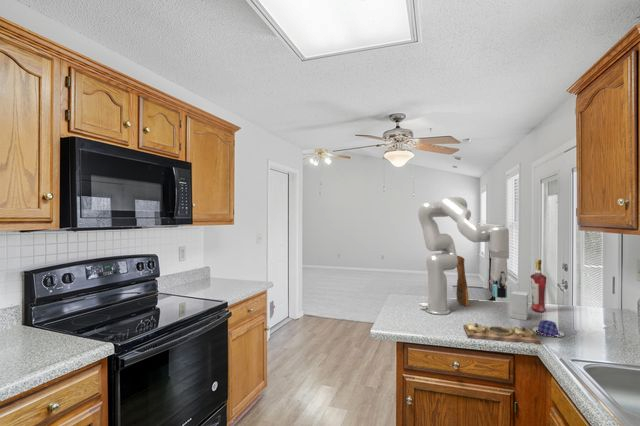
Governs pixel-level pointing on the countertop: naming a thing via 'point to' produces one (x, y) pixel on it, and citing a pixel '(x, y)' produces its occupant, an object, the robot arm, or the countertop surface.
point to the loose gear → (496, 291)
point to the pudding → (548, 328)
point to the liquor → (538, 289)
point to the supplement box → (519, 305)
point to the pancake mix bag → (461, 283)
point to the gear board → (501, 333)
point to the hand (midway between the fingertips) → (499, 294)
